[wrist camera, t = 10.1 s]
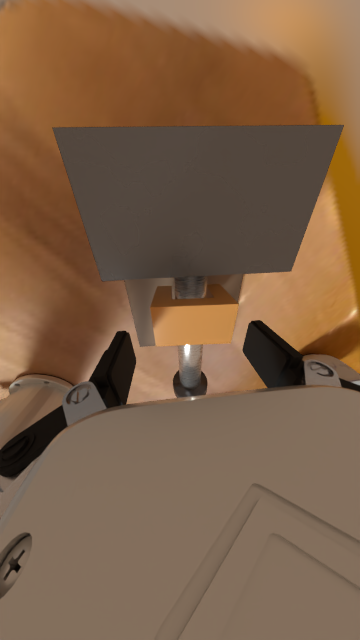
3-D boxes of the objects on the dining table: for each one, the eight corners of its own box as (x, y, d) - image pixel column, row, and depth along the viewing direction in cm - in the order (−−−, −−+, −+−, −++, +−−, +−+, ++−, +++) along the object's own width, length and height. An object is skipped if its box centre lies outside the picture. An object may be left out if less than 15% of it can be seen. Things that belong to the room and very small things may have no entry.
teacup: (333, 340, 28) (387, 373, 21) (323, 373, 33) (362, 408, 27) (264, 359, 30) (292, 396, 23) (264, 387, 35) (287, 424, 28)
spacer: (157, 286, 16) (150, 307, 11) (219, 283, 16) (239, 304, 11) (160, 317, 18) (155, 346, 13) (215, 314, 18) (230, 343, 13)
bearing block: (135, 259, 17) (101, 281, 9) (124, 194, 14) (52, 127, 5) (231, 254, 18) (290, 271, 9) (240, 191, 14) (344, 124, 6)
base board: (141, 342, 25) (140, 346, 24) (107, 197, 15) (103, 195, 14) (228, 336, 26) (230, 340, 25) (254, 193, 15) (259, 191, 15)
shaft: (173, 374, 23) (174, 405, 19) (163, 262, 14) (160, 272, 10) (202, 372, 23) (210, 402, 19) (211, 260, 14) (229, 269, 10)
